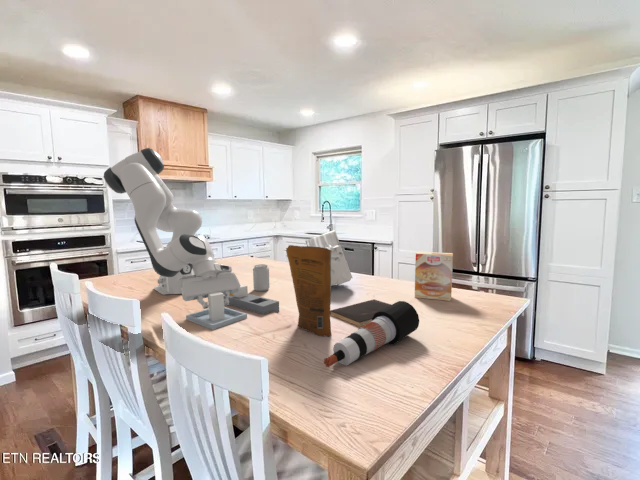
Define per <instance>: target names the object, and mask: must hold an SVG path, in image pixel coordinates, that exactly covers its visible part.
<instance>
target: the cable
mask: <svg viewBox="0 0 640 480" xmlns="http://www.w3.org/2000/svg"><path fill="white" fill-rule="evenodd" d="M419 324H420V317H419V314H418V312H417V310H416V308H415V307H414V306H413V305H412V304H411V303H409V302H407V301H405V300H402V301H401V300H398V301H396V302H394V303H392V304H391V305H390V306H388V307H387V308H385V309H383V310H381V311H379V312H377V313H375V314H374V316H373V318H372V321H371V322H370V323H368V324H366V325H362V326H360V327H359V328H357V329H356V330H355V331H354V332H352V333H350V334H349V335H348V336H345V337H344V338H343V339H341V340H339V341H337V342H336V343H335V344H333V350H332V351H333V353H332V354H331V355H329V356H327V357H326V358H324V359H323V360H324V361H323V364H324V365H325V367H326V368H327V367H328V368H330V367H332V366H334V364H336V363H339V364H341V365H343V366H346V367H347V366H349V365H350V364H352V363H353V362H355V361H357V360H359V359H361V358H362V357H365V356H366V355H368V354H370V353H373V352H374V351H376V350H377V349H379V348H381V347H383V346H384V345H385V344H386V345H390V346H392V345H396V344H397V343H398V342H401V341H402V340H403V339H405V338H406V337H407V336H409V335H410V334H413V332H415V331H416V330H417V329H418V328H419Z"/></svg>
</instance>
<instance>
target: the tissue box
mask: <svg viewBox="0 0 640 480" xmlns="http://www.w3.org/2000/svg"><path fill="white" fill-rule="evenodd" d="M305 245H306V246H311V247H322V248H327V249H329V250H331V251H332V252H331V287H332V286H335V285H337V286H339V285H341V284H344V283H347V282H350V281H351V279H353V275H352V273H351V270H350V267H349V264H348V261H347V258H346V256H345V254H344V251H343V249H342V245H341V243H340V240H339V238H338V235H337V232H336V230H335V229H333V230H330V231H328V232H325V233H323V234H320V235H317V236H314V237H311V238H309V239H306V240H305Z"/></svg>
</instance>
